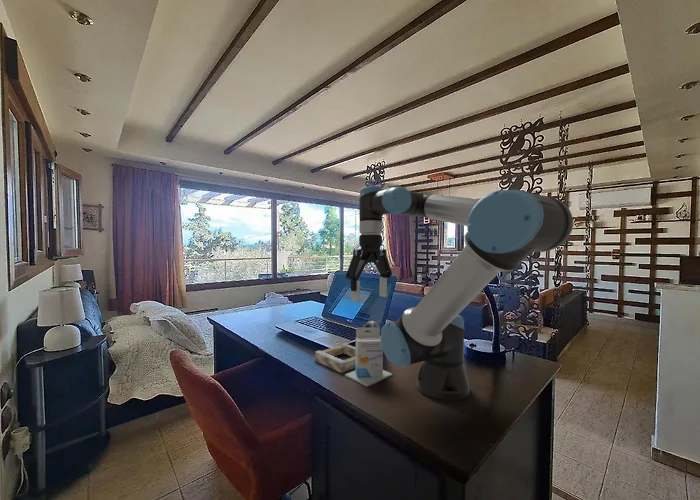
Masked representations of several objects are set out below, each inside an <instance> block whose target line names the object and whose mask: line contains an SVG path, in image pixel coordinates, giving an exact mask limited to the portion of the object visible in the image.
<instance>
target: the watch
mask: <svg viewBox="0 0 700 500" xmlns="http://www.w3.org/2000/svg"><path fill="white" fill-rule="evenodd" d="M377 327H379V328H380V329H381V327H380V324H379V322H377V321H374V320H369V321H367V322H366V323H365V324H364V325H363V327H362V328H377ZM364 333H372V331H369V330H367V331H364Z"/></svg>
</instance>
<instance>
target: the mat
mask: <svg viewBox="0 0 700 500" xmlns="http://www.w3.org/2000/svg"><path fill="white" fill-rule="evenodd" d="M344 376H345V378H348V379H350V380H352V381H354V382H356V383H358V384H361V385H363V386H364V387H368V388H369V386H372V385H375V384H376V383H378V382H382V381H383V380H385V379H387V378H390V377H393V373H391V372H389V371H387V370H384V369H383V376H382V377H357V375H356V372H355V370H352V371H351V372H347V373H344Z"/></svg>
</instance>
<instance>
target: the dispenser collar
mask: <svg viewBox="0 0 700 500" xmlns="http://www.w3.org/2000/svg"><path fill="white" fill-rule="evenodd" d="M355 352H356V346H352V345H350V344H347V343H345V342H344V343H341V344H340V345H337V346H334V347H331V348H326V349H324V350H323V349H322V350H315V353H314V355H315V356H314V361H315V362H317V363H319V364H321V365H324V366H326V367H328V368H329V369H332V370H334V371H337V372H338V373H341V374H342V373H344V372H347V371H350V370H353V369H355ZM343 353H344V354H343ZM340 354H343V355H345V354H347V355H349V356H348V358H346V359H341V358H339V357H338V356H337V355H340ZM347 355H346V356H347ZM335 356H336V357H335ZM340 356H341V355H340ZM350 356H351V357H350ZM349 357H350V358H349Z"/></svg>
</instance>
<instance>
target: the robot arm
mask: <svg viewBox="0 0 700 500" xmlns="http://www.w3.org/2000/svg"><path fill="white" fill-rule="evenodd" d="M359 190H360V191H359V198H358V201H359V202H358V204H359V230H358V231H359V237H358V238H359V239H358V240H359V241H358V244H359V247H360V248H354V249H353V251H352V256H351V257H352V258H351V261H350V262H349V265H348V269H347V271H346V274H345V279H348V281H350V291H351V301H352V302H355V303H360V298H361V297H360V294H361V293H360V287H361V286H360V284H361V283H360V280H359V278H360V276H361V275H362V273H363V272H364V269H365V268H366V266H367V265H368V264H371V263H372V264H374V266H375V267H376V269H377V271H378V273H379V275H380V276H379V293H378V295H379V297H382V298H387V297H388V282H389V281H388V279H390V278H391V276H392V275H393V271H392V269H391V265H390V263H389V259H388V256H387V249H386V248H381V247H382V246H383V236H382V235H381V234H383V216H384V215H385V216H386V215H399V216H401V215H402V216H413V217H421V218H427V219H432V220H437V221H442V222H444V223H445V222H446V223H452V224H456V225H460V226H465V227H467V229H466V230H467V232H466V233H465V235H464V242H465V246H464V248H462V250H461V251H460V252H459V253H458V255H457V256H456V257H455V259H454V260H453V261H452V262H451V263H450V265H449V266H448V267H447V268H446V269H445V271H444V272H443V273H442V274H441V276H439V278H438V279H437V280H436V281H435V283H434V284H433V286H432V287H431V288H430V289H429V290H428V291H427V292H426V294H425V295H424V297H423V298H422V299H421V300H420V301H419V302H418V303H417V305H416V306H415V307H409V308H407V309H406V310H404V311H403V313H402V314H401V315H400V317H399V318H398V319H397V320H395V321H389V322H387V323H385V324H384V325H383V326H382V328H381V329H380V337H381V344H382V348H383V354H384V356H385V357H386V359H387V361H389V363H390V364H392V365H394V366H395V367H399V368H400V367H409V366H411V365H413V364H418V363H421V365H420V368H419V370H418V373H417V377H416V388H417V389H418V391H419V392H420V393H422V394H423V395H425V396H427V397H428V398H431V399H434V400H439V401H445V402H447V401H448V402H454V401H455V402H456V401H457V402H458V401H461V400H464V399H467V398H468V397H469V396H470V391H471V390H470V389H471V388H470V382H469V379H468V376H467V372H466V370H465V366H464V357H465V355H464V354H465V353H464V350H465V347H464V346H465V330H466V327H465V321H464V317H463V316H461V315H460V314H461V312H462V311H464V309H465V308H467V306H468V305H469V304H470V303H471V302H472V301H473V300H474V299H475V298H476V297H477V296H478V295H479V294H480V293H481V292H482V291H483V290H484V288H486V286H488V285H489V283H491V281H493V280H494V278H496V277H497V275H499V273H500V272H512V271H513V270H514V269H516V268H517V267H518V266H519V265H520V264H521V263H522V262H523V261H524V260H525V259H526V258H527V257H528V256H529V255H530V254H531V253H543V252H544V253H545V252H549V251H553V250H554V249H556V248H558V247H560V246H561V245H563V244H564V243H566V241H568V239H569V237H570V235H571V233H572V231H573V228H574V218H573V214H572V212H571V210H570V209H569V207H568V206H567V205H566V204H565V203H564V202H563V201H561V200H560V199H557V198H555V197H552V196H549V195H541V194H537V193H531V192H529V191H525V190H522V189H521V190H519V189H500V190H496V191H492V192H490V193H488V194H487V195H484V196H483V197H482V198H480V199H478V198H470V197H462V196H453V195H452V196H451V195H444V194H436V193H435V194H434V193H427V192H418V191H411V190H408V189H407V188H405V186H391V187H389V188H387V189H383V188H382V187H381V186H378V185H368V186H362V187H361V188H360V189H359Z"/></svg>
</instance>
